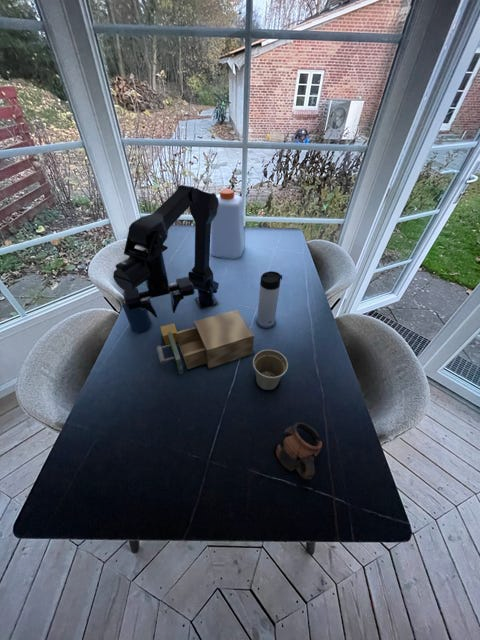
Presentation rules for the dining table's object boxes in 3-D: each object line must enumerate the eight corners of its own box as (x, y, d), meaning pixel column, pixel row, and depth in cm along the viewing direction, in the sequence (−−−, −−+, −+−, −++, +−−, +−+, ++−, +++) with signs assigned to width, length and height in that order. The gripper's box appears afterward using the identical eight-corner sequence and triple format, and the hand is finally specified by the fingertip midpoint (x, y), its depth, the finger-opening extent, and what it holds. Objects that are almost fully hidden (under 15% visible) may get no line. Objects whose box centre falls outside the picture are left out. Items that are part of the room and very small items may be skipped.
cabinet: (208, 368, 79) (206, 350, 73) (196, 339, 88) (193, 321, 82) (252, 354, 84) (254, 335, 78) (237, 328, 92) (237, 309, 86)
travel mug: (274, 329, 92) (281, 282, 78) (255, 326, 93) (259, 279, 79) (276, 317, 96) (283, 271, 82) (258, 315, 97) (262, 268, 83)
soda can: (156, 323, 93) (148, 296, 85) (142, 335, 89) (132, 308, 80) (141, 316, 95) (132, 289, 87) (126, 328, 91) (116, 301, 83)
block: (162, 336, 89) (160, 326, 86) (176, 332, 90) (174, 323, 87) (165, 345, 86) (163, 336, 83) (179, 341, 87) (177, 332, 84)
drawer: (165, 379, 75) (160, 365, 71) (157, 351, 83) (152, 336, 78) (223, 360, 81) (222, 345, 76) (211, 335, 88) (209, 320, 84)
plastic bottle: (217, 242, 137) (214, 184, 118) (245, 245, 135) (247, 187, 116) (208, 257, 126) (204, 195, 107) (239, 261, 124) (241, 199, 105)
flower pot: (286, 372, 79) (291, 354, 73) (279, 399, 72) (284, 382, 66) (256, 364, 81) (258, 345, 75) (247, 389, 74) (248, 371, 69)
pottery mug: (268, 440, 65) (284, 416, 62) (299, 444, 68) (315, 421, 65) (285, 489, 55) (306, 464, 52) (321, 491, 58) (341, 467, 55)
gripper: (181, 250, 78) (187, 292, 88) (114, 262, 72) (129, 306, 83) (192, 269, 70) (197, 313, 81) (118, 285, 65) (134, 329, 75)
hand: (165, 314), depth 80 cm, fingers open, 5 cm apart
